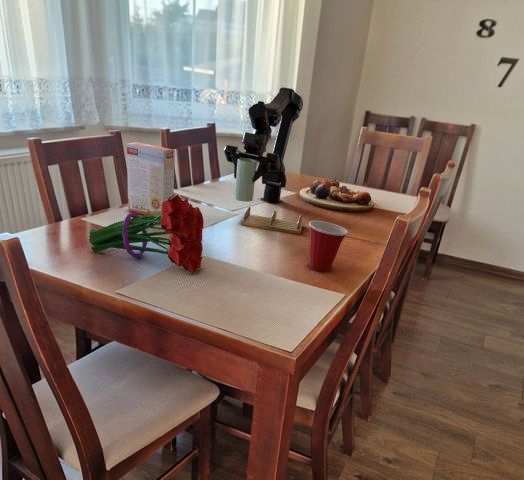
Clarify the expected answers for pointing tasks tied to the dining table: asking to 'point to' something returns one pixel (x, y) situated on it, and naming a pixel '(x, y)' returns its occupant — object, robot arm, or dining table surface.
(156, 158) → the cracker box
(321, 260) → the plastic cup
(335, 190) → the wooden plate
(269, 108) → the robot arm
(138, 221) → the bouquet
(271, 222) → the drying rack
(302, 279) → the dining table surface
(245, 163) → the tumbler
